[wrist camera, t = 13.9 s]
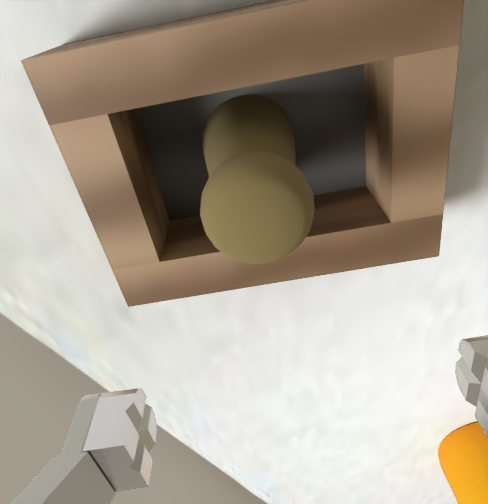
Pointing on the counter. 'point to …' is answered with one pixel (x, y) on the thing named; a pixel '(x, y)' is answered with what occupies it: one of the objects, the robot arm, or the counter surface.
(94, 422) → the robot arm
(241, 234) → the cork
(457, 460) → the beer bottle
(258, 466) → the counter surface
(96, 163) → the well block
